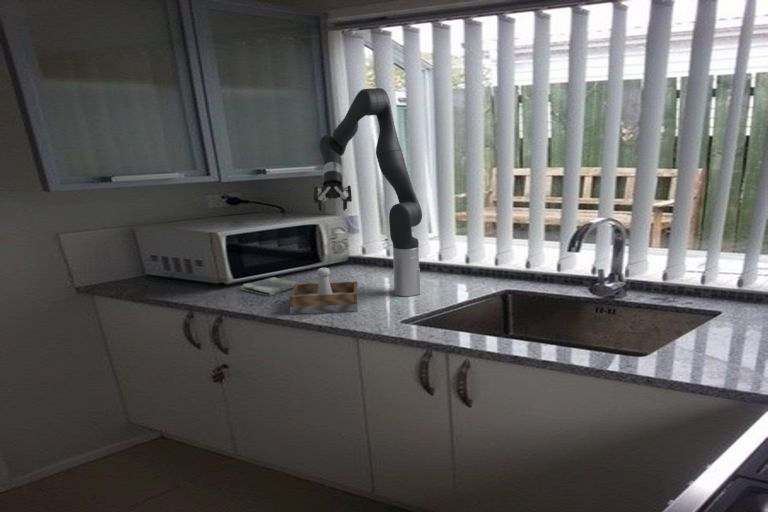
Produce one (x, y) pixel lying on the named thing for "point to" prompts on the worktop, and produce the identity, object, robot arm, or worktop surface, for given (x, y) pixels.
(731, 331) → the worktop surface
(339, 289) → the bore box
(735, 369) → the worktop surface
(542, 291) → the worktop surface
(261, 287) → the dish towel
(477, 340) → the worktop surface
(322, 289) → the salt shaker
